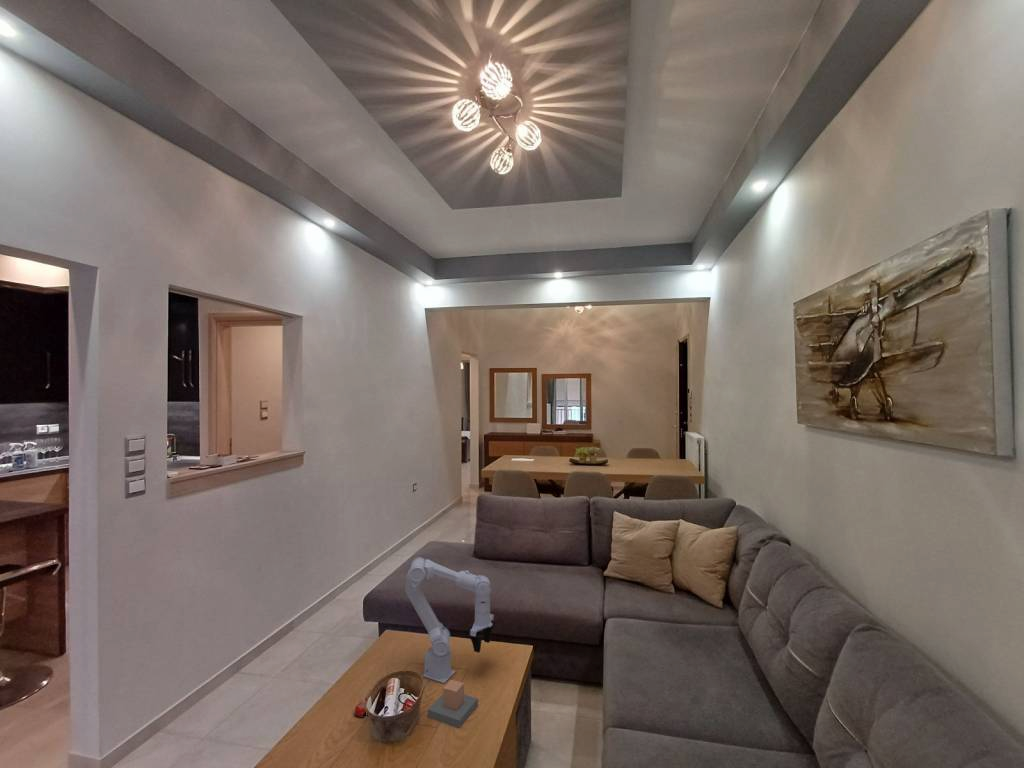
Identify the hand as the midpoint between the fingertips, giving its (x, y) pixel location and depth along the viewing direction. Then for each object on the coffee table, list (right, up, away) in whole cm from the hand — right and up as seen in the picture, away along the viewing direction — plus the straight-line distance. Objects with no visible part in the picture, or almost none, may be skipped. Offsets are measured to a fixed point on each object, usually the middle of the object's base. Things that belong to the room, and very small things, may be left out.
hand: (482, 646), depth 181 cm
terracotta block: (-8, -7, -22) cm, 24 cm away
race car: (-35, -10, -20) cm, 42 cm away
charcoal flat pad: (-8, -10, -22) cm, 25 cm away
